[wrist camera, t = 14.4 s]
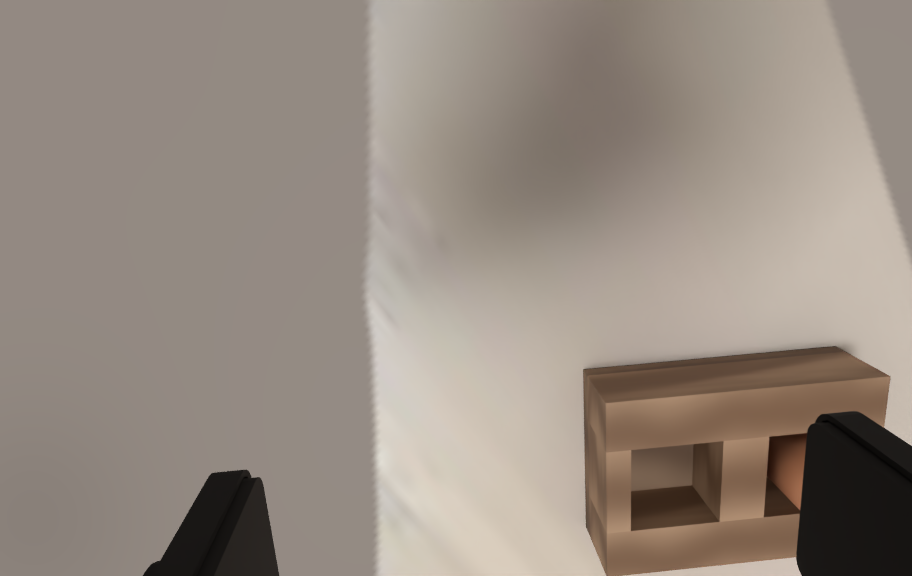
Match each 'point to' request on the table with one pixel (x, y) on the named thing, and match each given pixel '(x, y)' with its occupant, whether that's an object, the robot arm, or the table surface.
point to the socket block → (706, 453)
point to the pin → (787, 464)
